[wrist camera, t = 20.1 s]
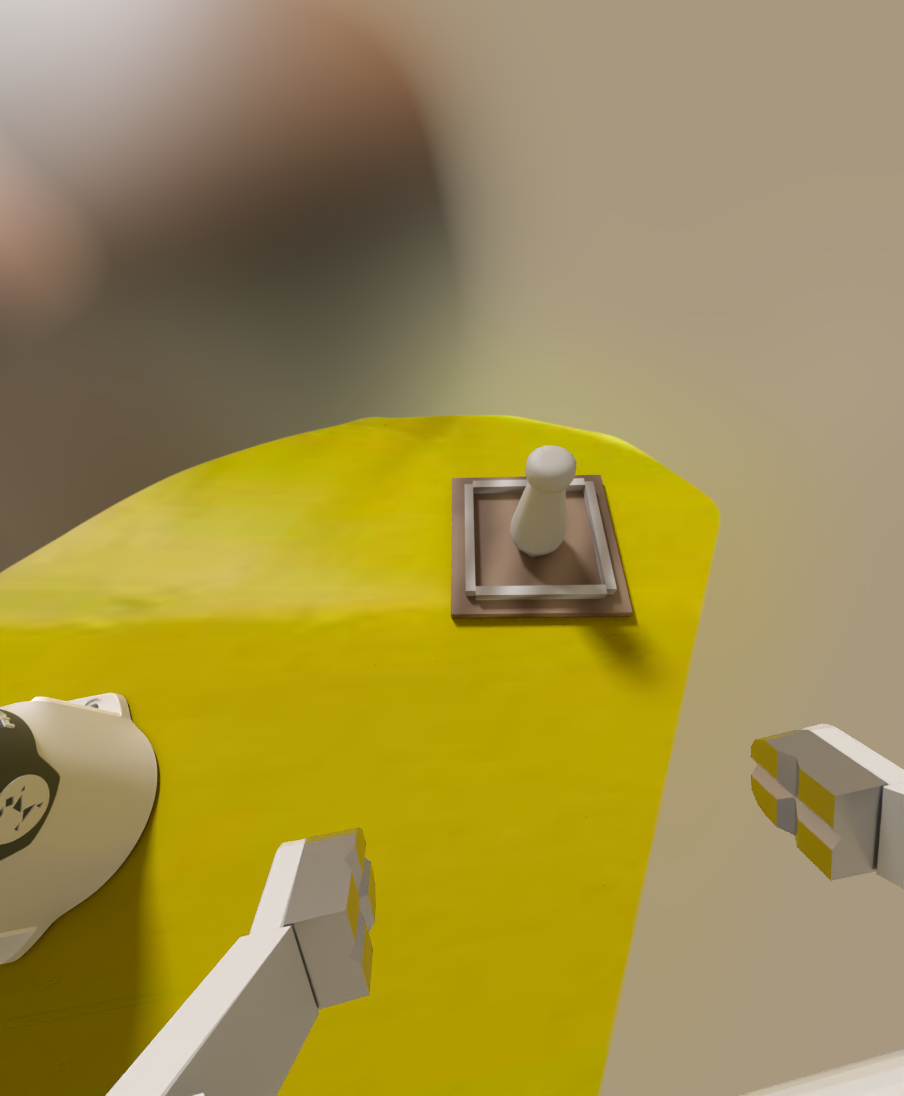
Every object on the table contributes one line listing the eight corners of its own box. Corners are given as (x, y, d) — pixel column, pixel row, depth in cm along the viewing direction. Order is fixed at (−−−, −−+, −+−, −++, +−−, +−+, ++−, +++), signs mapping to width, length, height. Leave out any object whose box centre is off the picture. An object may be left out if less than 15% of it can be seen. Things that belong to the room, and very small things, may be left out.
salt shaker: (568, 531, 48) (597, 446, 37) (550, 572, 45) (576, 493, 34) (519, 513, 49) (533, 426, 38) (499, 552, 47) (508, 470, 36)
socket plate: (451, 618, 44) (450, 609, 42) (452, 483, 53) (451, 471, 52) (629, 616, 43) (636, 607, 41) (598, 480, 53) (603, 468, 51)
